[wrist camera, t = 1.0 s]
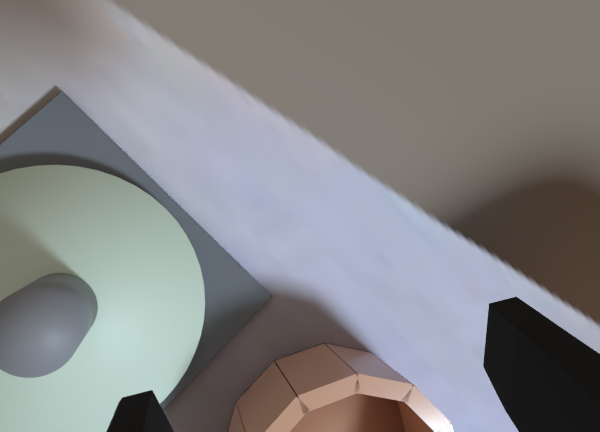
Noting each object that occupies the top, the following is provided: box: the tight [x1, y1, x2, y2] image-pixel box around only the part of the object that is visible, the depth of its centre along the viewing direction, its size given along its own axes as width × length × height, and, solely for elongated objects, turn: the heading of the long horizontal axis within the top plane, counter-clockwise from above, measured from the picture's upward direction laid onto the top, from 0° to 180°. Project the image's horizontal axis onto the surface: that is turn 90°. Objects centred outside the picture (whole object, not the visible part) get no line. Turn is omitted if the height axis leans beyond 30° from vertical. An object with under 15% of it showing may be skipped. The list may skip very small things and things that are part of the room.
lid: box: [0, 165, 205, 432], centre depth 19 cm, size 12×12×5 cm
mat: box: [0, 92, 271, 410], centre depth 21 cm, size 13×13×1 cm
